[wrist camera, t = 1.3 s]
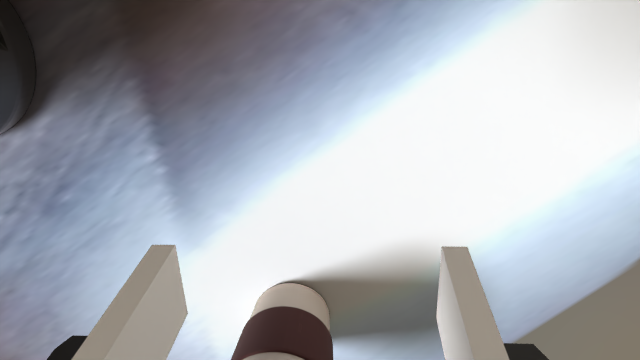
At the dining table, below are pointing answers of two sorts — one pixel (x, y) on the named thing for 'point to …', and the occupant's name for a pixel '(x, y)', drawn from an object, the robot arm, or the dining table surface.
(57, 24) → the dining table surface
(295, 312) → the coffee cup
